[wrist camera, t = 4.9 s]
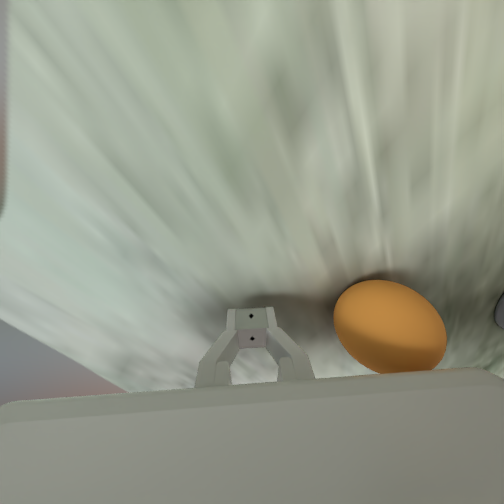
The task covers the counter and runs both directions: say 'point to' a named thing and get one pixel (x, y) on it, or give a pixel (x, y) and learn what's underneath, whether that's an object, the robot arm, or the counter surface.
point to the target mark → (500, 312)
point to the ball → (389, 327)
